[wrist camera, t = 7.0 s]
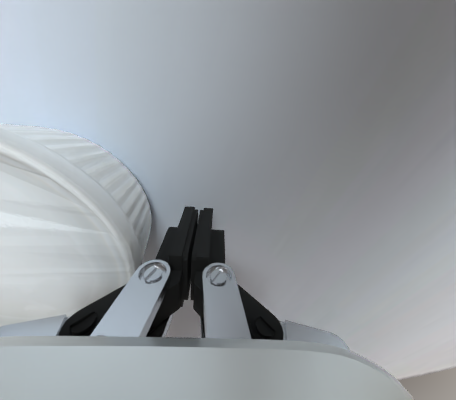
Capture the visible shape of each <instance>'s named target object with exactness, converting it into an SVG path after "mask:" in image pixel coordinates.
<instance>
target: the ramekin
mask: <svg viewBox="0 0 456 400" xmlns="http://www.w3.org/2000/svg"><path fill="white" fill-rule="evenodd" d="M151 223H152V221H151V211H150V205H149V203H148V200H147V197H146V194H145V193H144V191H143V189H142V187H141V185H140V184H139V182H138V181H137V179H136V178H135V177H134V176H133V174H132V173H131V172H130V170H129V169H128V168H126V167H125V166H124V165H123V164H122V162H121V161H120V160H118V159H117V158H115V157H114V156H113V155H112V154H111V153H110V152H108V151H106V150H104V149H103V148H102V147H101V146H99V145H97V144H95V143H93V142H91V141H89V140H88V139H85V138H82V137H79V136H77V135H75V134H72V133H69V132H64V131H61V130H57V129H50V128H45V127H38V126H25V125H12V124H0V327H1V326H4V325H10V324H15V323H21V322H26V321H32V320H37V319H43V318H48V317H54V316H59V315H65V314H66V316H67V317H70V316H72V315H73V314H74V313H76V312H77V311H79V310H81V309H82V308H84V307H86V306H88V305H89V304H91V303H93V302H95V301H97V300H98V299H100V298H102V297H104V296H106V295H107V294H109V293H111V292H113V291H115V290H116V289H118V288H120V287H122V286H124V285H125V284H127V283H128V281H129V280H130V278H131V277H132V275H133V274H134V273H135V271H136V270H137V269H138V268H139V266H140V265H142V259H143V256H144V253H145V249H146V246H147V242H148V239H149V235H150V230H151Z"/></svg>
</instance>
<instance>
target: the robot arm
mask: <svg viewBox="0 0 456 400" xmlns="http://www.w3.org/2000/svg"><path fill="white" fill-rule="evenodd" d="M212 215H213V208H204V210H200V215H199V220H198V210H195V207H185V208H184V211H183V214H182V217H181V220H180V223H179V226H178V228H177V227H169V228H168V231H167V233H166V235H165V238H164V240H163V243H162V245H161V247H160V250H159V252H158V254H157V257H156V259H155V260H150V261H148V262H145V263H143V264H142V265H140V266H139V268H138V269H137V270H136V271H135V273H134V274H133V275H132V277H131V278H130V280H129V281H128V283H127V284H125V285H124V286H122V287H120V288H118V289H116V290H115V291H113V292H111V293H109V294H107V295H106V296H104V297H102V298H100V299H98V300H97V301H95V302H93V303H91V304H89V305H88V306H86V307H84V308H82V309H81V310H79V311H77V312H76V313H74V314H73V315H72V316H70V317H67V316H66V314H65V315H59V316H54V317H48V318H43V319H37V320H32V321H26V322H21V323H15V324H10V325H4V326H1V327H0V400H414V398H413V397H412V396H411V395H410V393H409V392H408V391H407V390H406V389H405V388H404V387H403V385H402V384H401V383H400V382H399V381H398V380H397V379H396V378H395V377H394V376H392V375H391V374H390V373H388V372H387V371H386V370H385V369H383V368H382V367H380V366H378V365H377V364H375V363H373V362H372V361H370V360H368V359H366V358H364V357H362V356H360V355H358V354H356V353H353V352H351V351H350V350H349V348H348V346H347V345H346V344H345V342H344V341H343V340H342V339H341V338H339V337H338V336H337V335H335V334H333V333H331V332H327V331H324V330H320V329H316V328H313V327H309V326H305V325H302V324H298V323H294V322H291V321H287V320H285V322H281V321H279V320H278V319H277V318H276V317H275V316H274V315H273V314H272V313H271V312H269V311H268V310H267V309H266V308H265V307H264V306H262V305H261V304H260V303H259V302H258V301H257V300H255V299H254V298H253V297H252V296H251V295H250V294H248V293H247V292H246V291H245V290H244V289H243V288H241V287H240V286H239V285H238V284H237V281H236V277H235V273H234V271H233V269H232V268H231V267H230V266H228V265H226V264H225V242H224V230H211V228H212ZM197 224H198V225H197ZM190 284H191V300H194V304H193V309H194V310H195V311H196V312H197V313H198V314H199V316H200V331H201V338H173V337H165V336H166V334H167V331H168V328H169V326H170V323H171V320H172V317H173V313H174V312H175V311H177V310H178V309H179V308H180V307H183V302H184V300H188V296H189V290H190Z"/></svg>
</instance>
